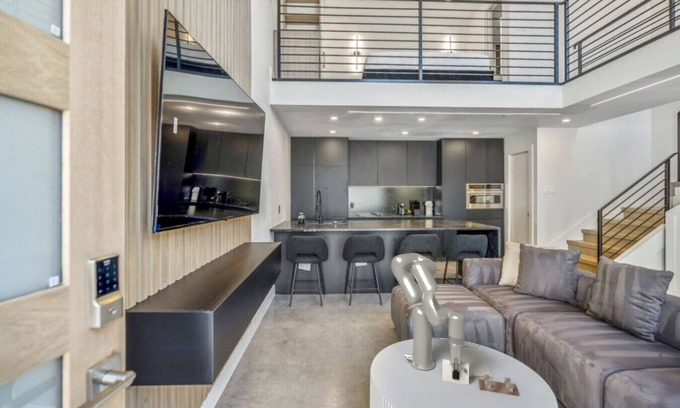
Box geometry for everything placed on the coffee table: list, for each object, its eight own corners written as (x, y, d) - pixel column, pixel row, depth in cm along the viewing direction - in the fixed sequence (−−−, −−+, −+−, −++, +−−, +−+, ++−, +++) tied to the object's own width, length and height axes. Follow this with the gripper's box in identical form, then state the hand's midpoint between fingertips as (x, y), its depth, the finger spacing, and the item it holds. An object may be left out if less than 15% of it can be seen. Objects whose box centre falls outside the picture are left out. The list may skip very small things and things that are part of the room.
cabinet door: (442, 381, 163) (442, 363, 163) (442, 377, 167) (442, 359, 167) (469, 385, 159) (469, 367, 159) (468, 381, 163) (468, 363, 163)
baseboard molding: (466, 378, 168) (492, 379, 166) (466, 372, 168) (492, 374, 166) (455, 350, 198) (476, 351, 197) (455, 345, 198) (476, 346, 197)
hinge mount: (479, 389, 156) (479, 381, 156) (478, 380, 164) (478, 372, 164) (518, 396, 151) (518, 387, 151) (515, 386, 159) (515, 378, 159)
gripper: (448, 331, 172) (447, 367, 172) (448, 345, 156) (447, 384, 157) (464, 333, 169) (463, 370, 170) (465, 347, 154) (464, 387, 155)
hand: (455, 376), depth 163 cm, fingers closed on cabinet door, 2 cm apart
